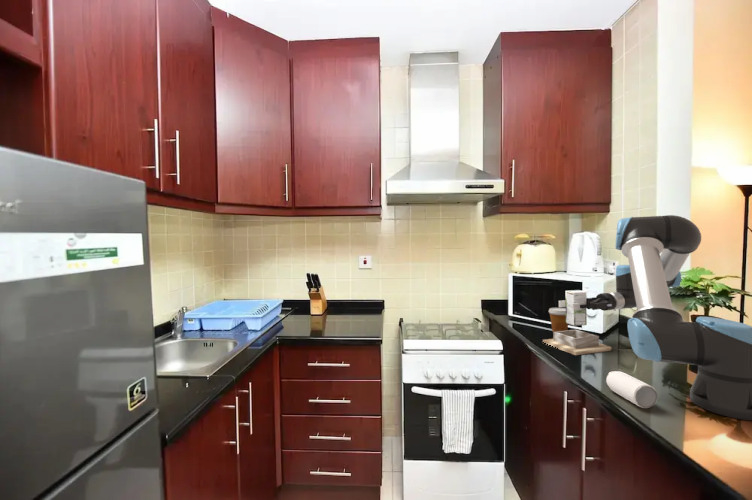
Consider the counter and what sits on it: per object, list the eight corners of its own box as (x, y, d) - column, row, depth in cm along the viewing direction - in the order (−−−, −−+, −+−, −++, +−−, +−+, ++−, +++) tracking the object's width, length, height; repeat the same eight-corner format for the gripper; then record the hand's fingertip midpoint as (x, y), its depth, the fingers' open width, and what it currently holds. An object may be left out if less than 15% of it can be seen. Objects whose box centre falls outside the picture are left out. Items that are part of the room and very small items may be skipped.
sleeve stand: (611, 350, 139) (611, 337, 139) (575, 355, 135) (575, 341, 135) (575, 339, 156) (575, 327, 156) (542, 343, 152) (542, 331, 152)
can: (633, 386, 91) (603, 370, 103) (635, 410, 91) (605, 391, 103) (657, 383, 91) (624, 368, 103) (659, 407, 91) (626, 389, 103)
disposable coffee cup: (550, 335, 164) (550, 310, 164) (547, 330, 173) (546, 307, 173) (573, 336, 161) (572, 311, 161) (568, 331, 170) (567, 307, 170)
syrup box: (578, 322, 148) (577, 289, 148) (587, 325, 142) (586, 291, 142) (565, 323, 148) (564, 290, 148) (574, 326, 142) (573, 291, 142)
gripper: (630, 314, 140) (585, 318, 134) (590, 306, 159) (549, 310, 153) (630, 296, 140) (584, 300, 134) (590, 290, 159) (548, 293, 153)
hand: (565, 305), depth 144 cm, fingers closed on syrup box, 6 cm apart
